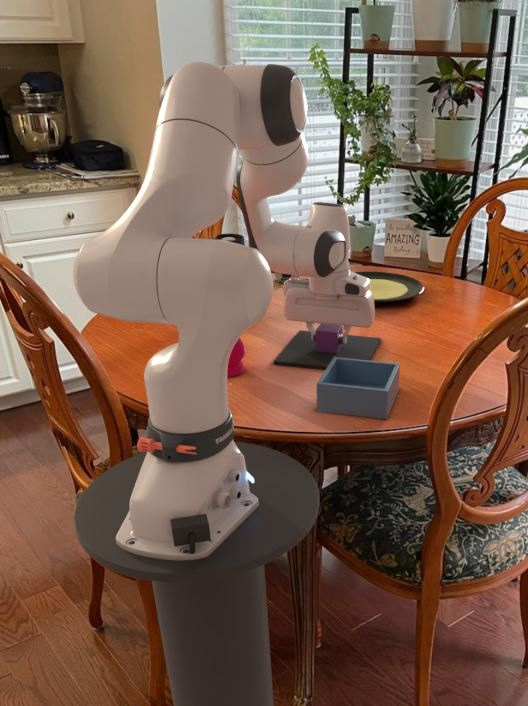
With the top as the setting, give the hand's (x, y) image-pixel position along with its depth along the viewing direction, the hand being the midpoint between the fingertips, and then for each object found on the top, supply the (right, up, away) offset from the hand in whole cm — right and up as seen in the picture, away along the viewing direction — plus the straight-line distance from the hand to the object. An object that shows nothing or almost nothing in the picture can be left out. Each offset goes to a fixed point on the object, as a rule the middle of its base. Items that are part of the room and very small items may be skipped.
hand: (329, 341), depth 161 cm
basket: (+7, -15, -20) cm, 26 cm away
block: (0, -1, +1) cm, 2 cm away
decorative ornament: (-14, +27, +48) cm, 57 cm away
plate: (+11, +21, +39) cm, 46 cm away
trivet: (0, -2, +1) cm, 2 cm away
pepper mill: (-21, -8, -9) cm, 24 cm away
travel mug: (-25, +10, +20) cm, 33 cm away
